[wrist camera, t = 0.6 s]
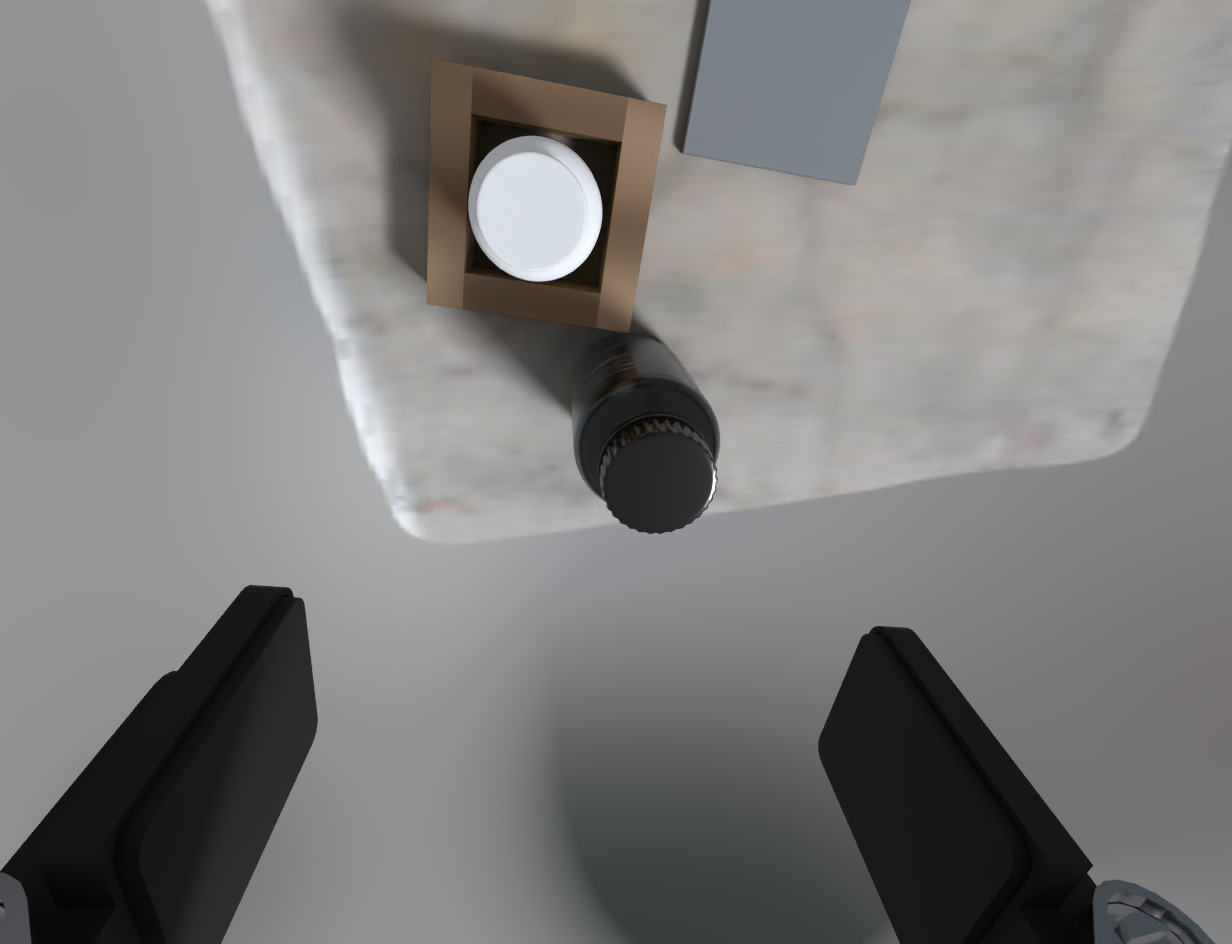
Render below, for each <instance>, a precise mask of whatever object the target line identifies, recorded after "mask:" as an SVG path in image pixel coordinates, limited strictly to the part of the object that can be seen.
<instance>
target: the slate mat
mask: <svg viewBox="0 0 1232 944" xmlns="http://www.w3.org/2000/svg"><path fill="white" fill-rule="evenodd" d="M910 1H911V0H709V4H708V9H707V15H706V20H705V26H704V31H703V37H702V43H701V48H700V54H699V59H698V65H697V70H696V76H695V81H694V87H693V92H692V98H691V103H690V109H689V114H688V120H687V125H686V131H685V136H684V142H683V147H682V154H687V155H693V156H698V157H703V158H709V159H714V160H719V161H725V162H730V163H735V164H741V165H746V166H751V167H757V168H762V169H767V170H773V171H778V172H783V173H789V174H794V175H799V176H805V177H810V178H815V179H821V180H826V181H831V182H837V183H842V184H847V185H856V182H857V178H858V175H859V172H860V168H861V165H862V162H863V158H864V155H865V152H866V148H867V145H868V142H869V138H870V135H871V132H872V128H873V125H874V122H875V118H876V115H877V112H878V108H879V105H880V102H881V98H882V95H883V92H884V88H885V85H886V82H887V78H888V75H889V72H890V68H891V65H892V62H893V58H894V55H895V52H896V48H897V45H898V42H899V38H900V35H901V32H902V28H903V25H904V22H905V18H906V15H907V11H908V8H909V5H910Z"/></svg>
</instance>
